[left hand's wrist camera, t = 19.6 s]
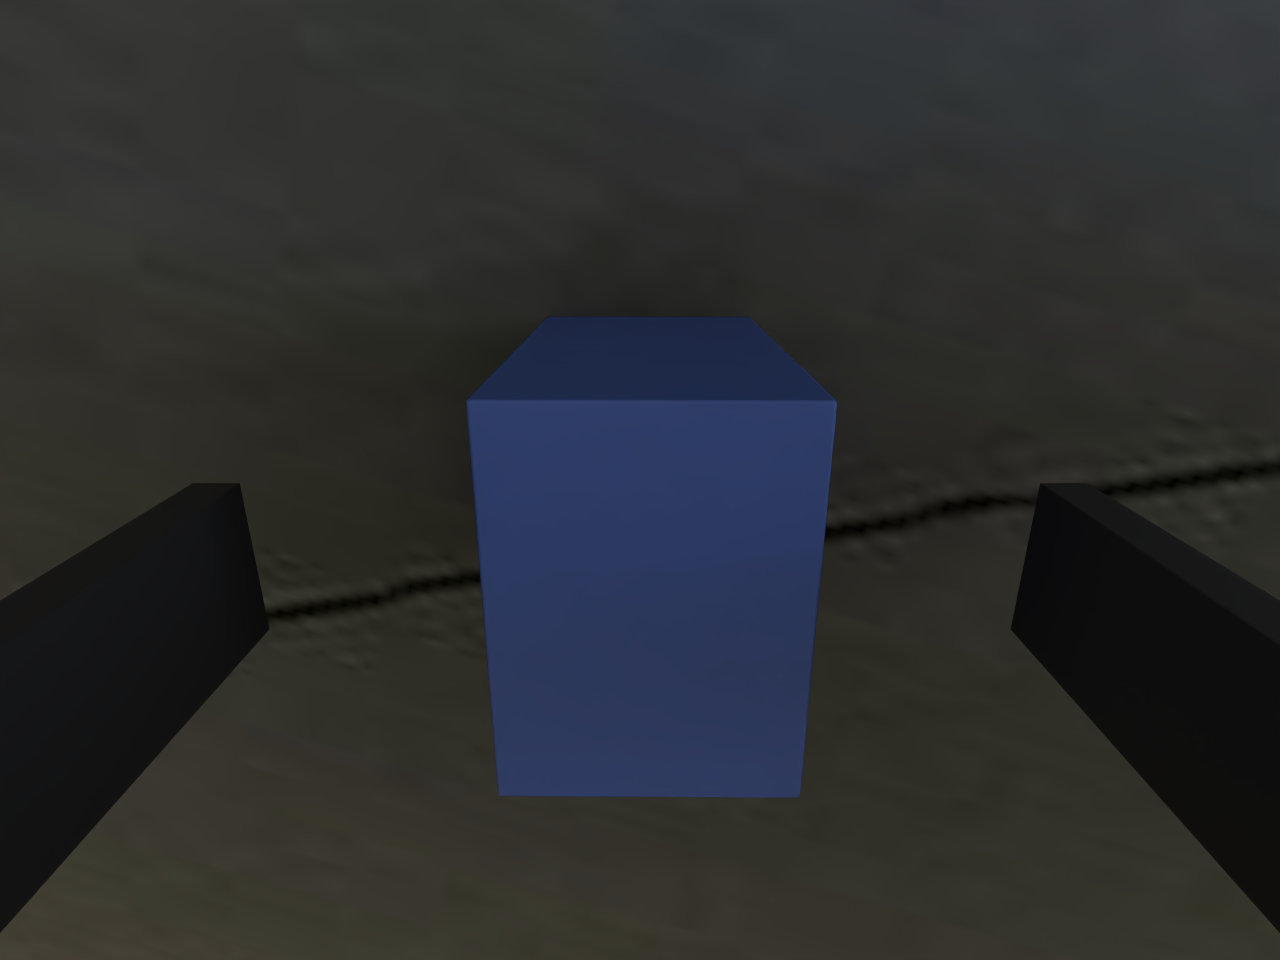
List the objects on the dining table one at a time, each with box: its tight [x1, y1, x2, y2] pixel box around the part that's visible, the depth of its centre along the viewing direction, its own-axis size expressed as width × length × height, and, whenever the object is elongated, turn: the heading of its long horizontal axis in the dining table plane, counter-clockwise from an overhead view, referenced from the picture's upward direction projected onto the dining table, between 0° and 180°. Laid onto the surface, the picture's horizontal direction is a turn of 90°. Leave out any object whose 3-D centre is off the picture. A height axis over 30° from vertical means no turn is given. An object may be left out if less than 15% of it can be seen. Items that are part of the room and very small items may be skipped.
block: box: [466, 317, 837, 798], centre depth 15 cm, size 5×6×8 cm
